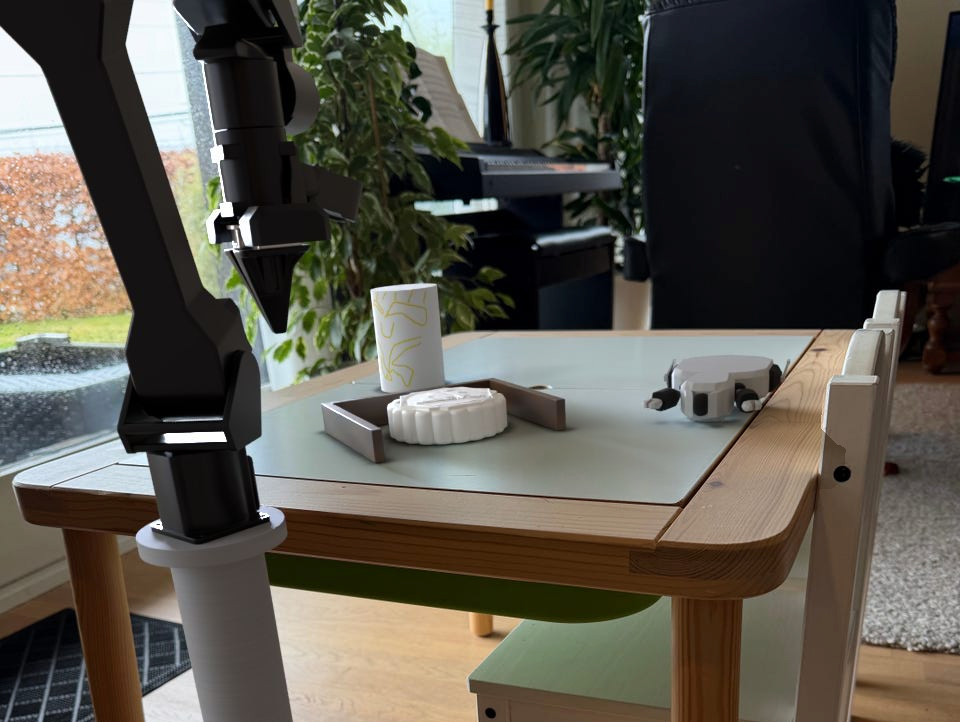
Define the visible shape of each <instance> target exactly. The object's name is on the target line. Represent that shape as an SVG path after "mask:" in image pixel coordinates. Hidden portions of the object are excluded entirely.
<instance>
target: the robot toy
mask: <svg viewBox="0 0 960 722" xmlns="http://www.w3.org/2000/svg"><path fill="white" fill-rule="evenodd" d="M676 360H677V359H676V358H673V359H672V360H671V364H670V365H669V368H668V370H667V372H666V373H664V375H663V381H664V382H665V383H666V386H667V387H665V388H661V389H659V390H657V391H653V392H652V394H651V398H646V399H645V400H643V402H642V406H643V408H644V409H650V410H655V411H656V412H665V411H667V410H670V409H672V408H675V407H677V406H678V404H679V402H680V411H681V413H682V414H683V415H684V416H685V417H686V419H687V420H688V421H693V422H703V423H704V422H705V423H709V422H711V423H714V422H715V423H716V422H723V421H725V419H726V418H727V417H728V416H729V415H730V414H731V413H732V412H733V411H734V408H737V409H738V411H739V412H740V413H743V414H752V413H754V412H757V411H760V410H762V407H763V405H762V402H761V399H765V398H766V397H767V396H768V394H771V393H773V392H774V391H775V390H776V389H777V388H778V387H779V386H780V385H781V383H785V382H786V374H787V372H788V368H789V366H790V364H791V358H787V359H786V364H785V367H784V370H783V371H782V369H781V367H780V366H779V364H777V363H774V359H773V358H769V357H766V356H759V355H743V354H742V355H741V354H722V355H721V354H720V355H718V354H717V355H703V356H694V357H693V356H692V357H688V358H683V359H682V360H681V361H679V363H678V364H676V363H677V361H676ZM735 406H736V407H735Z"/></svg>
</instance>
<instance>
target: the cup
mask: <svg viewBox="0 0 960 722" xmlns="http://www.w3.org/2000/svg"><path fill="white" fill-rule="evenodd" d="M370 297H371V298H370V299H371V305H372V306H371V307H372V316H373V323H374V324H373V325H374V333H375V342H376V351H377V360H378V369H379V377H380V378H379V379H380V386H381V387H380V388H381V391H382V392H384V393H387V394H389V393H395V392H402V391H408V390H415V389H422V388H428V387H435V386H442V385H446V376H445V375H446V373H445V363H444V353H443V352H444V351H443V339H442V330H441V329H442V328H441V317H440V305H439V303H440V302H439V292H438V284H437V283H407V284H397V285H387V286H380V287H375V288H371V289H370Z"/></svg>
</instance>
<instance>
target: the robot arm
mask: <svg viewBox="0 0 960 722" xmlns="http://www.w3.org/2000/svg"><path fill="white" fill-rule="evenodd" d="M171 1H172V2H171V3H172V8H173V10H174V11H176V13H177V14H178V15H179V16H180V18H182V20H183V21H184V23H185V25H186V26H187V29H188V31H189V33H190V34H191V37H192V38H193V41H194V42H195V44H194V46H193V49H192V52H191V54H192V58H193V59H194V61H196V62H198V63H201V65H202V66H201V67H202V74H203V79H204V85H205V91H206V98H207V104H208V109H209V117H210V122H211V129H212V133H213V134H212V136H213V141H214V147H211V148H210V155H211V160H212V163H217V166H218V172H219V177H220V183H221V189H222V197H223V203H219V209H214V210H213V211H212V213H211V214H210V215H209V217H208V218H207V220H206V221H205V224H206V229H207V230H206V231H207V235H208V241H209V244H210V245H222V244H224V243H225V244H226V243H232V246H233V248H226V249H223V251H224V254H225V256H226V257H228V259H229V261H230V262H231V264H232V266H233V268H234V269H235V271H236V273H237V274H238V276H239V277H240V280H241V281H242V282H243V285H244V287H246V288H245V289H247V291H248V293H249V294H250V297H251V298H252V300H253V302H254V303H255V305H256V307H257V308H258V310H259V312H260V314H261V316H262V317H263V319H264V321H265V322H266V324H267V326H268V327H269V329H270V331H271V333H273V334H276V335H280V334H286V333H287V331H288V325H289V324H288V323H289V314H290V313H289V312H290V304H291V295H292V293H291V292H292V284H293V276H294V269H295V267H296V265H297V264H298V263H299V262H300V260H301V259H302V258H303V256H304V255H305V254H306V253H307V252H309V251H310V249H311V248H312V244H309V243H312V242H324V241H332V240H333V238H332V231H331V222H330V220H332V221H335V222H339V223H344V224H346V223H347V222H348V221H350V222H351V223H356V222H357V217H358V213H359V209H360V203H361V198H362V193H363V188H364V182H362V181H360V180H357V179H354V178H352V177H349V176H345V175H343V174H340V173H337V172H334V169H333V167H331V166H330V167H324V166H321V165H320V163H318V162H315V163H311V164H308V163H305V162H301V157H300V150H299V146H298V144H297V145H296V144H295V141H294V140H288V138H287V137H288V136H297V135H299V134H302V133H304V132H306V131H307V130H309V129H310V128H311V126H312V125H313V124H314V123H315V121H316V119H317V117H318V115H319V110H320V105H321V103H320V101H321V100H320V92H319V91H320V90H319V88H318V87H317V84H316V81H315V80H314V78H313V76H312V75H311V74H310V72H309V71H308V70H307V69H306V68H305V67H304V66H303V65H300V64H299V63H296V62H294V56H293V50H292V49H300V48H303V45H304V43H303V37H302V35H301V31H300V28H299V26H298V23H297V20H296V15H295V13H294V10H293V7H292V4H291V0H171ZM134 2H135V0H0V29H2V30H3V31H4V32H5V33H6V34H7V35H8V36H9V37H10V38H11V39H12V40H13V41H14V42H15V43H16V45H18V46H19V47H20V48H21V49H22V50H23V51H24V52H25V53H26V54H27V55H28V56H29V57H30V58H31V59H32V60H33V61H34V62H35V63H36V64H37V65H38V66H39V67H40V69H41V71H42V74H43V76H44V78H45V81H46V83H47V86H48V90H49V91H50V94H51V96H52V98H53V99H52V100H53V102H54V104H55V107H56V110H57V112H58V116H59V118H60V120H61V123H62V126H63V129H64V131H65V135H66V137H67V139H68V141H69V145H70V147H71V150H72V153H73V155H74V158H75V160H76V163H77V165H78V169H79V171H80V173H81V177H82V179H83V181H84V184H85V187H86V189H87V192H88V194H89V197H90V200H91V203H92V205H93V207H94V210H95V213H96V215H97V219H98V221H99V223H100V226H101V230H102V231H103V234H104V237H105V239H106V242H107V245H108V248H109V251H110V253H111V255H112V258H113V261H114V263H115V266H116V268H117V271H118V274H119V277H120V279H121V282H122V284H123V287H124V290H125V293H126V295H127V298H128V301H129V303H130V306H131V310H132V313H131V318H130V323H129V326H128V330H127V335H126V340H125V344H124V349H123V353H124V357H125V362H126V364H127V368H128V371H129V374H128V379H127V382H126V387H125V392H124V395H123V400H122V404H121V407H120V412H119V416H118V421H117V425H116V432H117V434H118V438H119V439H120V442H121V444H122V447H123V448H124V451H125V453H126V454H127V455H136V454H138V453H145V454H146V459H147V463H148V469H149V472H150V473H149V474H150V477H151V481H152V487H153V492H154V497H155V501H156V506H157V510H158V515H159V519H160V520H161V522H158V523H155V524H152V525H151V530H152V532H155V533H158V534H162V535H165V536H168V537H171V538H175V539H178V540H181V541H184V542H188V543H191V544H194V545H200V544H204V543H207V542H210V541H213V540H216V539H219V538H222V537H225V536H228V535H231V534H234V533H237V532H240V531H243V530H246V529H249V528H252V527H255V526H258V525H261V524H264V523H267V522H270V516H269V514H265V513H261V512H257V510H259V509H260V505H261V501H260V496H259V495H260V494H259V489H258V484H257V483H258V482H257V478H256V477H257V476H256V472H255V466H254V459H253V457H252V456H251V455H249V454H247V446H249V445H250V444H252V443H253V442H255V441H257V440H258V439H260V438H261V437H262V436H263V435H262V434H263V425H262V420H263V419H262V380H261V371H260V366H259V362H258V359H257V358H256V356H255V354H254V353H253V347H252V345H251V343H250V341H249V339H248V336H247V334H246V331H245V327H244V323H243V318H242V314H241V310H240V308H239V306H238V305H237V304H236V302H235V301H234V299H233V298H231V297H220V298H219V297H218V298H216V296H214V295H213V294H212V293H211V292H210V291H209V290H208V289H207V288H206V287H205V286H204V284H203V282H202V279H201V275H200V273H199V270H198V267H197V263H196V261H195V257H194V255H193V252H192V248H191V246H190V242H189V240H188V235H187V233H186V230H185V227H184V224H183V221H182V218H181V214H180V211H179V208H178V205H177V201H176V199H175V196H174V192H173V189H172V186H171V183H170V180H169V177H168V173H167V170H166V166H165V165H164V161H163V158H162V155H161V153H160V149H159V147H158V142H157V139H156V136H155V133H154V131H153V127H152V124H151V121H150V118H149V114H148V111H147V109H146V106H145V103H144V99H143V96H142V93H141V91H140V86H139V84H138V81H137V77H136V74H135V71H134V69H133V64H132V62H131V58H130V56H129V52H128V47H127V39H128V36H129V35H128V34H129V29H130V23H131V19H132V18H131V17H132V13H133V8H134ZM276 24H277V25H276Z"/></svg>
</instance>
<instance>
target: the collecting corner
mask: <svg viewBox="0 0 960 722" xmlns="http://www.w3.org/2000/svg"><path fill="white" fill-rule="evenodd" d="M455 387H467V388H489V389H490V390H493V391H497V393H501V394H503V395H504V397H505V399H506V411H507V414H509V415H512V416H515V417H518V418H521V419H522V420H526V421H529V422H532V423H535V424H537V425H540V426H543V427H546V428H549V429H551V430H555V431H557V432H559V431H565V430H567V411H566V398H563V397H560V396H557V395H554V394H550V393H547V392H543V391H540V390H536V389H533V388H530V387H526V386H523V385H521V384H520V385H519V384H516V383H512V382H509V381H506V380H502V379H500V378H496V377H489V378H483V379H482V378H481V379H475V380H470V381H469V380H467V381H461V382H456V383H449V384H445V385H442V386H435V387H428V388H422V389H415V390H408V391H402V392H395V393H383V394H376V395H370V396H369V395H368V396H362V397H356V398H350V399H343V400H336V401H330V402H324V403H323V402H322V403H321V404H320V405H321V413H322V420H323V428H324V433H326V434H327V435H329V436H331V437H332V438H334V439H336V440H337V441H339V442H340V443H343V444H344V445H345V446H347V447H349V448H350V449H352V450H354V451H355V452H357V453H358V454H360V455H362V456H363V457H365V458H367V459H368V460H370V461H372V462H373V463H375V464H377V463H383V462H386V457H385V455H386V453H385V447H384V438H383V437H384V436H383V429H382V428H381V427H378V426H382V425H389V419H388V408H387V407H388V405H389V404H390V403H392V402H393V401H394V400H397V399H400V396H403V395H408V394H410V393H413V392H421V391H429V390H435V389H440V388H455Z"/></svg>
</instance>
